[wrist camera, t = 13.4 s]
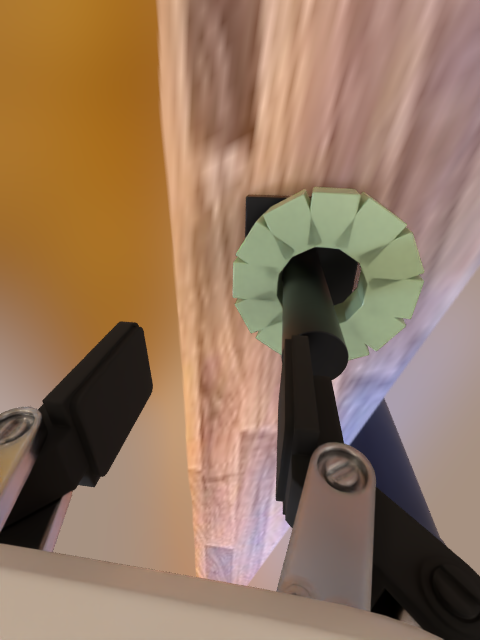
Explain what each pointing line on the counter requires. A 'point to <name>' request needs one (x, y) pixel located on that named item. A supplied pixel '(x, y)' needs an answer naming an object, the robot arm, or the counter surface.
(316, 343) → the post
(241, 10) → the counter surface
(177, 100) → the counter surface
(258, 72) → the counter surface
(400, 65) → the counter surface
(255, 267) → the ring
